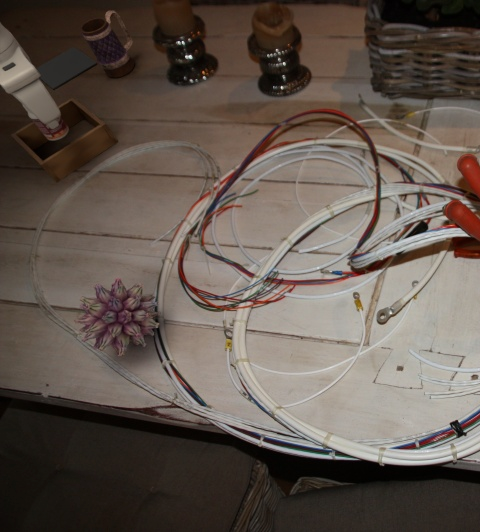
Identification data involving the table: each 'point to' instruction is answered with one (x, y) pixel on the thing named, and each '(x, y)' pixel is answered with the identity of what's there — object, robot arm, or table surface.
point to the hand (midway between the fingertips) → (47, 120)
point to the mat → (64, 67)
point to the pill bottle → (46, 130)
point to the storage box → (75, 151)
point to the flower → (118, 316)
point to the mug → (108, 45)
